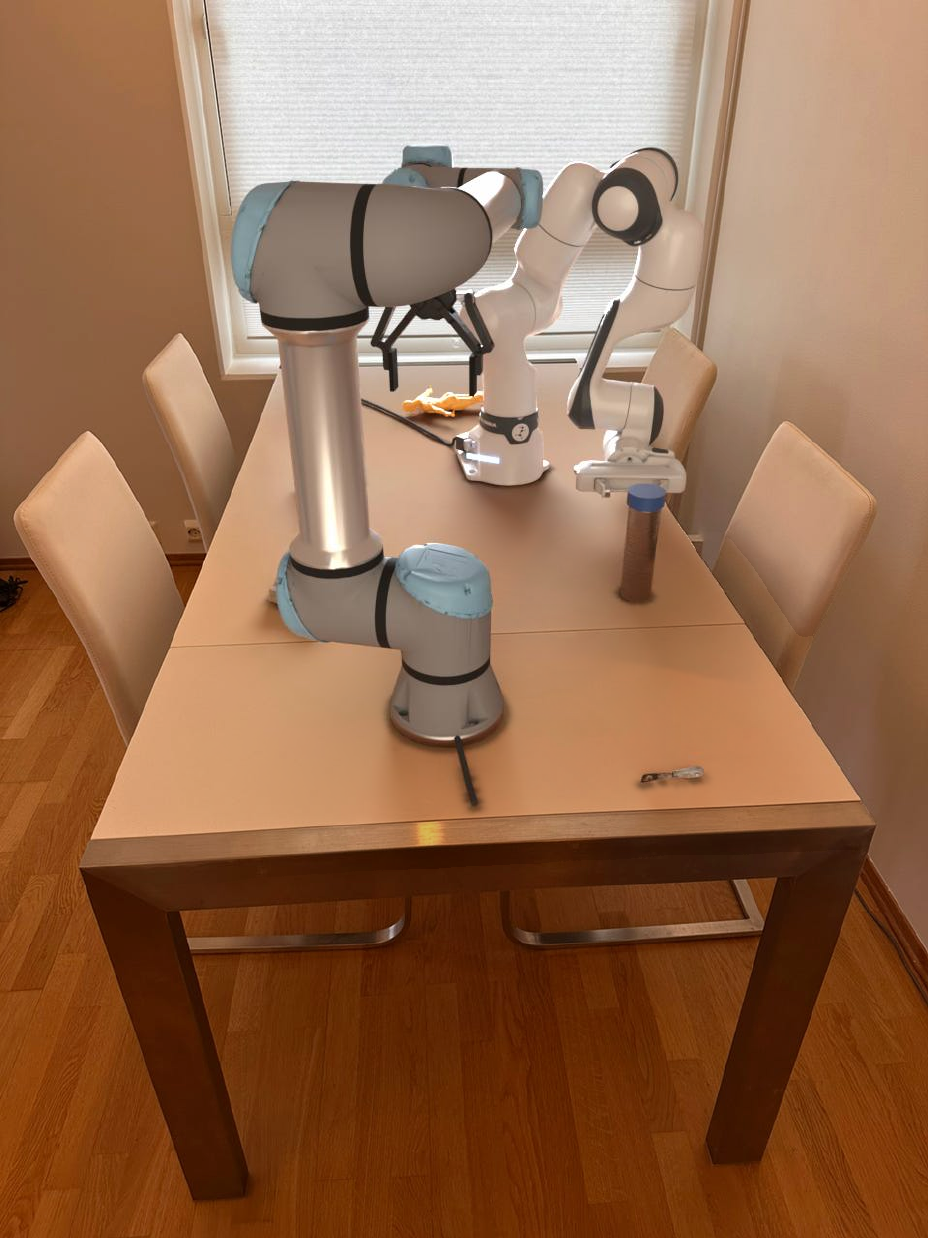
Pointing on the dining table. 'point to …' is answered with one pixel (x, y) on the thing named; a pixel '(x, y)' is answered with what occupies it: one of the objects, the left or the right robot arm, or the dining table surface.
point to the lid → (646, 497)
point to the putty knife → (674, 774)
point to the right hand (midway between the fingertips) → (632, 494)
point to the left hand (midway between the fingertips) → (433, 391)
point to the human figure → (442, 402)
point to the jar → (639, 555)
